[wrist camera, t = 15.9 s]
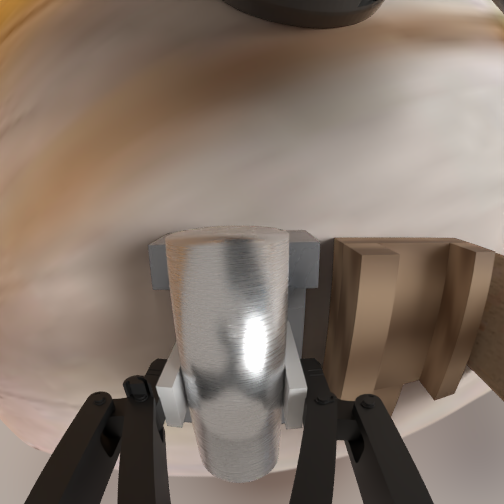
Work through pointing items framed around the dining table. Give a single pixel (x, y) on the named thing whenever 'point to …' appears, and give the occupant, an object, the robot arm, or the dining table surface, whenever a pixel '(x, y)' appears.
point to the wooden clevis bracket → (403, 314)
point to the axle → (232, 342)
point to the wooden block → (491, 334)
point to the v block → (300, 277)
